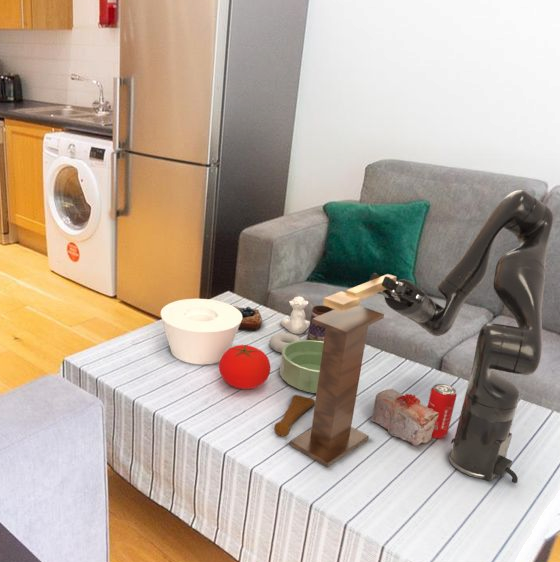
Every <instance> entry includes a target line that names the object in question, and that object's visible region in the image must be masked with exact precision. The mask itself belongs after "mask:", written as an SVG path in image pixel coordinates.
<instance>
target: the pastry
mask: <svg viewBox="0 0 560 562" xmlns="http://www.w3.org/2000/svg"><path fill="white" fill-rule="evenodd" d="M232 306H233V307H235V308H237V309H238V310H239V311H240V312H241V314H242V321H241V323H240V326H239V328H238V330H239V331H246V332H257V331H259V330H260V329H261V328H262V323H263V319H262V315H261V313H260V310H259V309H257V308H251V307H250V306H247V307H239V306H237V305H236V306H235V305H232Z"/></svg>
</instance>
